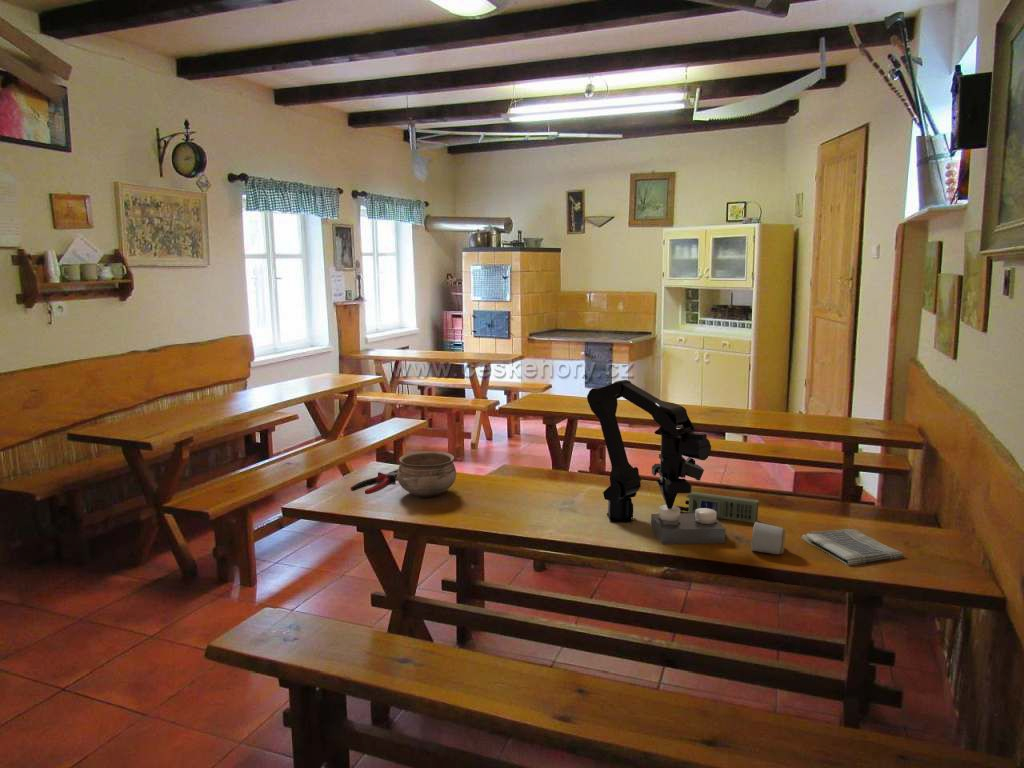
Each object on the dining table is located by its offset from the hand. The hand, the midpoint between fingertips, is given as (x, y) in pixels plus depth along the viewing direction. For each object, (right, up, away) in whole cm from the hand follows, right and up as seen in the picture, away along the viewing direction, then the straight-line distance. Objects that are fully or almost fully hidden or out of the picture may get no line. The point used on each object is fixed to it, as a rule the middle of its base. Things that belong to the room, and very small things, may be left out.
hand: (669, 508), depth 189 cm
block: (+23, -10, -9) cm, 27 cm away
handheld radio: (+16, -6, +16) cm, 24 cm away
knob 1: (0, -6, +1) cm, 6 cm away
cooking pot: (-70, -2, +36) cm, 79 cm away
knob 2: (+10, -7, +1) cm, 12 cm away
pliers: (-87, -1, +48) cm, 100 cm away
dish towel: (+45, -10, -7) cm, 47 cm away
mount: (+5, -8, +1) cm, 9 cm away
